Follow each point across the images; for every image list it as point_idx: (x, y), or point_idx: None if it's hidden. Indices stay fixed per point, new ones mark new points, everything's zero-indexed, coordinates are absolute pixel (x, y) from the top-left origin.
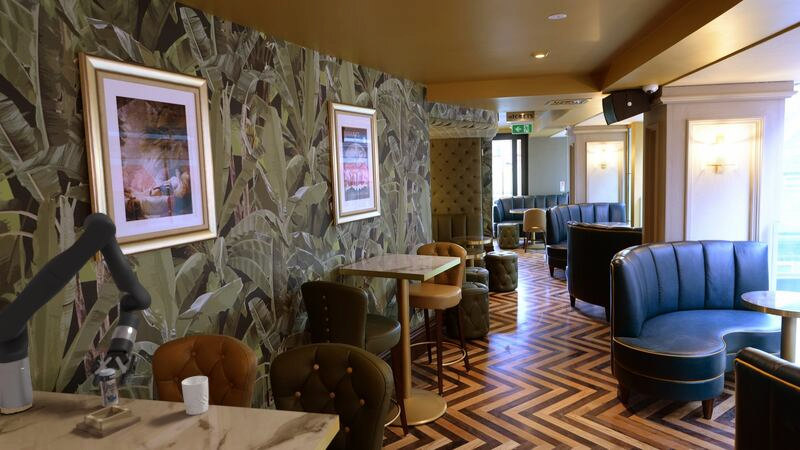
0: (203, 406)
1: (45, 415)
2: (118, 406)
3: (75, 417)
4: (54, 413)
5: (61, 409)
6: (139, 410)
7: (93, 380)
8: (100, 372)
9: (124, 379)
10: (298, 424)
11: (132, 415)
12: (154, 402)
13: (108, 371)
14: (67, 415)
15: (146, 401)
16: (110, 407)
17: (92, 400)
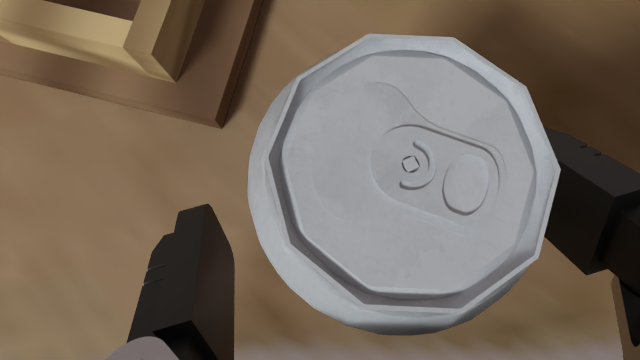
0: None
1: (637, 15)
2: (79, 29)
3: (419, 28)
4: (611, 47)
5: (629, 102)
6: (68, 190)
7: (585, 150)
8: (480, 58)
9: (149, 279)
10: None
11: (7, 62)
12: (41, 334)
13: (331, 127)
14: (497, 40)
15: (118, 338)
16: (138, 11)
17: (561, 270)
